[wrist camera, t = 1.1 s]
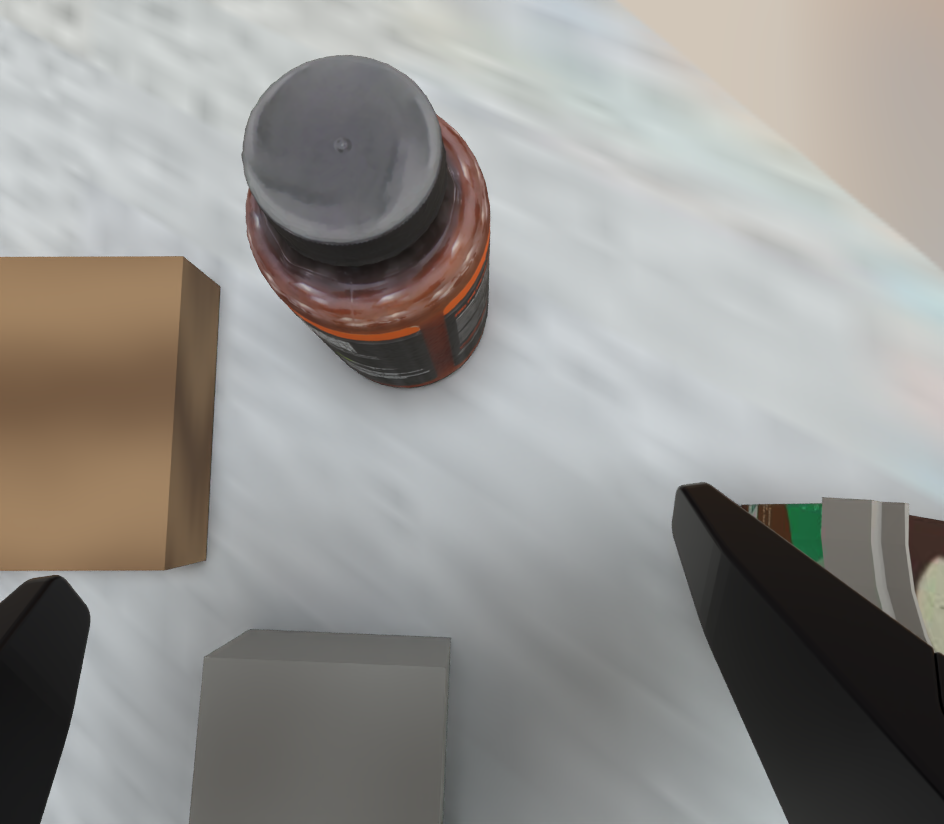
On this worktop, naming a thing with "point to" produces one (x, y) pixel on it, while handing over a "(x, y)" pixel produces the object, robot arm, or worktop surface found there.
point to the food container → (873, 554)
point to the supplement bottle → (369, 218)
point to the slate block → (322, 730)
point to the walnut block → (105, 412)
